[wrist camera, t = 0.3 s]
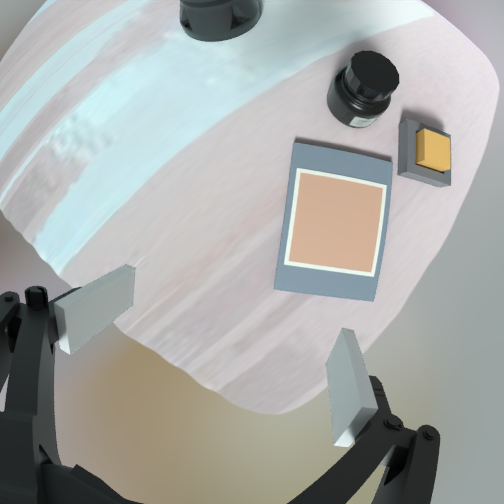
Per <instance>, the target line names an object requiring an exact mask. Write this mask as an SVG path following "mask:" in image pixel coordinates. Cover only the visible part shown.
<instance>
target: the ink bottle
mask: <svg viewBox="0 0 504 504" xmlns="http://www.w3.org/2000/svg"><path fill="white" fill-rule="evenodd" d="M398 84H399V74H398V71H397V69H396V67H395V66H394V65H393V64H392V62H391V61H390V60H389V59H387V58H386V57H384V56H383V55H382V54H380V53H376V52H373V51H364V50H363V51H360V52H358V53H355V54H354V56H353V57H352V58H351V60H350V62H349V65H348V66H345V67H343V68H342V69H340V70H339V71H338V72H337V74H336V75H335V78H334V80H333V82H332V85H331V87H330V89H329V92H328V95H327V104H328V107H329V109H330V111H331V113H332V114H333V115H334V116H335V117H336V118H337V119H338V120H339V121H340V122H342V123H343V124H345V125H347V126H350V127H353V128H364V127H367V126H369V125H371V124H372V123H373V122H374V121H375V120H376V119H377V118H378V117H379V116H380V115H382V114H383V113H384V112H385V110H386V109H387V108H388V106H389V104H390V101H391V94H392V93H393V92H394V91H395V89H396V88H397V86H398Z"/></svg>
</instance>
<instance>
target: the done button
mask: <svg viewBox="0 0 504 504" xmlns="http://www.w3.org/2000/svg"><path fill="white" fill-rule="evenodd" d="M415 165H418V166H421V167H424V168H428V169H431V170H434V171H437V172H442V171H445V170H449V169H450V138H448V137H445V136H443V135H440V134H438V133H435V132H433V131H430V130H427V129H425V128H424V129H422V130H421V131H419V132H417V133H416V158H415Z"/></svg>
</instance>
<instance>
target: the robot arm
mask: <svg viewBox="0 0 504 504" xmlns="http://www.w3.org/2000/svg"><path fill="white" fill-rule="evenodd" d="M259 17H260V8H259V3H258V1H257V0H180V23H181V26H182V27H183V29H184V31H185V33H186V34H187V35H188V36H190V37H192V38H194V39H196V40H200V41H208V42H215V41H223V40H228V39H232V38H235V37H237V36H240V35H242V34H244V33H246V32H247V31H249V30H250V29H251V28H252V27H254V25H255V24H256V23H257V22H258V20H259ZM135 269H136V268H135V267H132V266H130V265H127V264H126V265H124V266H122V267H120V268H118V269H116V270H114V271H112V272H110V273H108V274H106V275H104V276H102V277H100V278H99V279H97V280H95V281H93V282H91V283H89V284H87V285H85V286H84V287H78V288H74V289H72V290H70V291H68V292H67V293H64V294H63V295H60V296H58V297H57V298H55V299H53V300H51V301H49V302H48V295H47V290H46V288H44V287H42V286H32V287H29V288H27V289H26V290H25V298H26V304H23V303H20V299H19V295H18V294H17V293H15V292H11V291H9V292H5V293H3V294H2V295H0V392H1V390H2V388H3V386H4V383H5V381H6V379H7V377H8V375H9V379H8V387H7V393H6V402H5V410H4V412H0V504H143V503H138V502H134V501H130V500H127V499H124V498H123V497H122V496H120V495H119V494H118V493H117V492H115V491H114V490H113V489H111V487H109V486H108V485H107V484H106V483H105V482H104V481H102V480H101V479H100V478H98V477H97V476H95V475H93V474H92V473H90V472H88V471H87V470H85V469H84V468H82V467H80V466H79V465H77V464H76V465H75V467H74V468H71V467H67V466H63V465H62V464H61V461H60V458H59V455H58V449H57V441H56V430H55V415H54V363H55V344H54V343H55V342H56V341H58V340H59V342H60V348H61V349H62V350H63V351H65V352H67V353H68V354H70V355H71V354H72V353H74V352H75V351H76V350H77V349H79V348H80V347H81V346H82V345H83V344H85V343H86V342H87V341H88V340H90V339H91V338H92V337H93V336H95V335H96V334H97V333H98V332H99V331H101V330H102V329H103V328H105V327H106V326H107V325H108V324H110V323H111V322H112V321H114V320H115V319H116V318H117V317H119V316H120V315H121V314H122V313H124V312H125V311H126V310H128V309H129V308H130V307H131V306H133V298H134V282H135ZM5 329H6V331H5ZM326 369H327V378H328V387H329V397H330V406H331V419H332V429H333V445H334V446H344V447H349V446H350V444H351V443H352V442H353V441H354V440H355V445H354V446H353V447H352V448H351V449H350V450H349V451H348V452H347V453H346V454H345V455H344V456H343V457H342V458H341V459H340V460H339V461H338V462H337V463H336V464H335V465H333V466H332V467H331V468H330V469H329V470H328V471H327V472H326V473H325V474H324V475H322V476H321V477H320V478H319V479H318V480H317V481H315V482H314V483H313V484H312V485H311V486H309V487H308V488H307V489H306V490H305V491H303V492H302V493H301V494H299V495H298V496H297V497H296V498H294V499H293V500H292V501H290V502H289V503H287V504H346V503H347V502H348V500H349V499H350V498H351V497H352V496H353V495H354V494H355V493H356V492H357V491H358V490H359V488H360V487H361V486H362V485H363V484H364V483H365V481H366V480H367V479H368V478H369V476H370V475H371V474H372V473H373V472H374V470H375V469H376V468H377V466H378V465H379V464H380V465H384V466H386V468H385V471H384V474H383V477H382V479H381V482H380V484H379V487H378V489H377V492H376V494H375V497H374V499H373V501H372V503H371V504H430V502H431V497H432V493H433V488H434V482H435V477H436V471H437V464H438V455H439V447H440V434H439V432H438V431H437V430H436V429H435V428H434V427H432V426H430V425H423V426H421V427H419V428H418V430H417V431H414V430H411V429H408V428H405V427H404V425H403V422H402V421H401V419H400V418H398V417H397V416H395V415H393V414H392V413H391V410H390V407H389V404H388V401H387V398H386V397H385V396H386V395H385V392H384V389H383V386H382V383H381V382H380V381H379V380H378V378H377V377H376V376H369V375H368V372H367V369H366V366H365V363H364V360H363V357H362V353H361V350H360V347H359V344H358V341H357V339H356V336H355V333H354V330H350V329H346V328H342V329H341V331H340V334H339V336H338V338H337V340H336V343H335V345H334V347H333V349H332V352H331V354H330V356H329V358H328V360H327V362H326Z"/></svg>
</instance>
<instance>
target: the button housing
mask: <svg viewBox="0 0 504 504" xmlns="http://www.w3.org/2000/svg"><path fill="white" fill-rule="evenodd" d="M424 128H425V129H427V130H430V131H433V132H435V133H438V134H440V135H443V136H445V137H448V138H450V169H449V170H445V171H442V172H437V171H434V170H431V169H428V168H424V167H421V166H418V165H415V158H416V133H417V132H419V131H421V130H422V129H424ZM397 175H399V176H403V177H407V178H410V179H414V180H417V181H421V182H424V183H427V184H431V185H434V186H437V187H445V186H450V185H451V137H450V135H449V134H447V133H445V132H442V131H440V130H437V129H435V128H432V127H430V126H427V125H424V124H422V123H419V122H416V121H413V120H410V119H406V120H405V121H403V122H402V123H401V124H399V151H398V174H397Z"/></svg>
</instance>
